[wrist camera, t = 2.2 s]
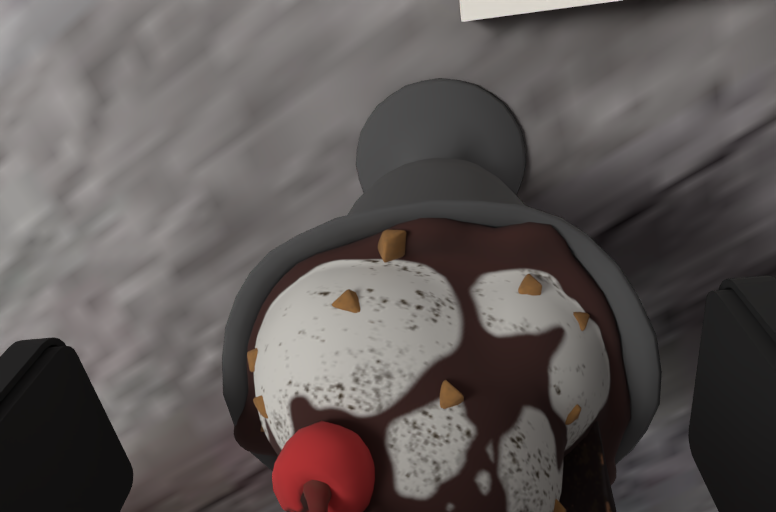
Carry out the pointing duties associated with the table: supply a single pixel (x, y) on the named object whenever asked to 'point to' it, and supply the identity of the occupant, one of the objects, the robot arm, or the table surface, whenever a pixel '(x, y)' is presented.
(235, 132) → the table surface
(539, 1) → the board
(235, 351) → the sundae
